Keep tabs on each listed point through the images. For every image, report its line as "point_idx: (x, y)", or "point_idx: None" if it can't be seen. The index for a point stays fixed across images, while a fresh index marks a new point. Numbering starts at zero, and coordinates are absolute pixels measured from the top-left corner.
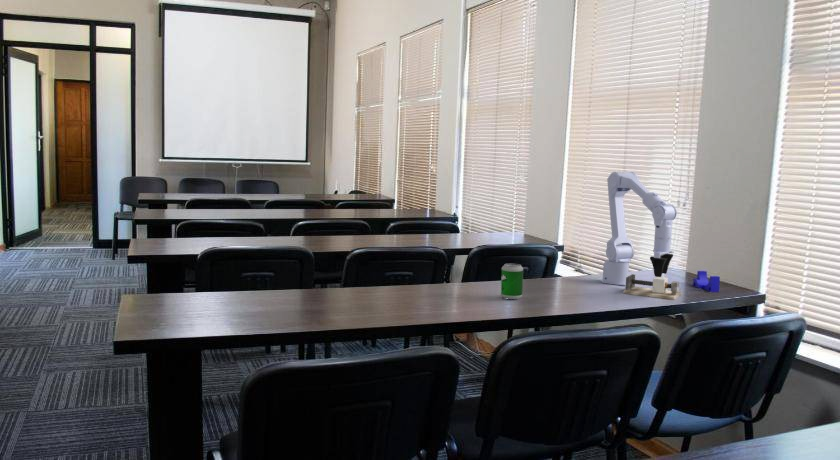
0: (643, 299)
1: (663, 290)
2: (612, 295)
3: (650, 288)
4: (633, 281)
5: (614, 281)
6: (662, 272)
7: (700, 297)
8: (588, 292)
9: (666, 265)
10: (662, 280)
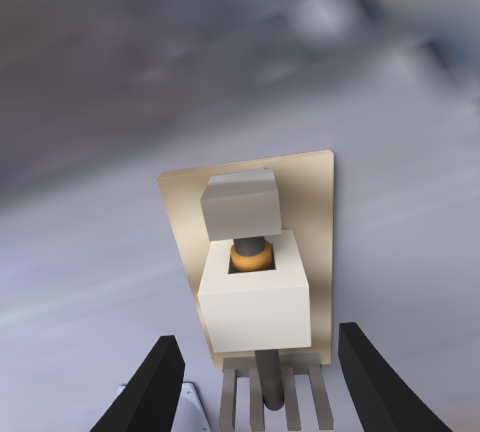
0: (410, 266)
1: (294, 240)
2: (395, 363)
3: (200, 311)
4: (282, 387)
5: (196, 419)
6: (179, 359)
7: (124, 38)
8: None
9: (144, 416)
10: (308, 292)
